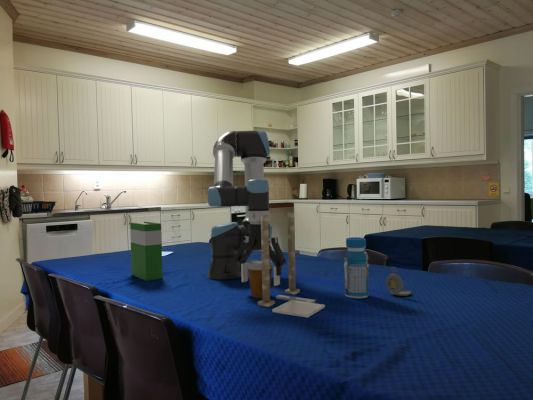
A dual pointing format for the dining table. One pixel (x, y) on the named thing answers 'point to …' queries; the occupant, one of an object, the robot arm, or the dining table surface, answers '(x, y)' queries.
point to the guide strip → (295, 299)
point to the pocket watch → (396, 284)
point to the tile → (298, 308)
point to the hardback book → (146, 250)
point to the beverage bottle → (356, 268)
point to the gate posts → (265, 259)
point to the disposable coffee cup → (257, 277)
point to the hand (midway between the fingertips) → (260, 283)
